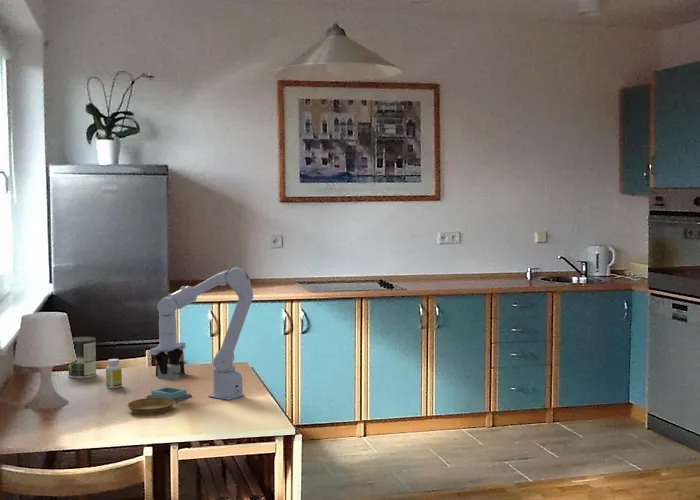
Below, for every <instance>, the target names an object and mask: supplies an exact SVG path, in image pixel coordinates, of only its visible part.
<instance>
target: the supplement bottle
mask: <svg viewBox="0 0 700 500" xmlns="http://www.w3.org/2000/svg"><path fill="white" fill-rule="evenodd" d="M122 374H123V373H122V366H121V365H120V359H119V358H109V359H107V366H106V367H105V385H106V386H105V387H106V388H108V389H117V388H118V389H119V388H122V385H123V380H122V379H123V378H122V377H123V376H122Z"/></svg>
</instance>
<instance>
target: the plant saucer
mask: <svg viewBox="0 0 700 500" xmlns="http://www.w3.org/2000/svg"><path fill="white" fill-rule="evenodd" d="M175 403H176V401H174V400H172V399H169V398H147V397H146V398H140V399H135V400H132V401H129V402H128V403H127V407H128V408H129V409H130V410H131V412H133V413H134V414H137V415H143V416H145V415H147V416H148V415H150V414H153V415H158V414H159V413H160V414H163V412H164V413H166V411H167V412H168V411H169V410H170V409H171V408H172V407H173V406H175V405H174V404H175Z"/></svg>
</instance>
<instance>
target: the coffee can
mask: <svg viewBox="0 0 700 500" xmlns="http://www.w3.org/2000/svg"><path fill="white" fill-rule="evenodd" d="M71 338H72V340H73V344H74V349H75V353H76V357H77V362H75V363H72V364H69V365H68V364H67V365H68V366H67V367H68V377H69V378H71V379H87V378H92V377H96V376H97V357H96V356H97V355H96V351H97V349H96V340H97V338H96V337H94V336H75V337H74V336H73V337H71Z"/></svg>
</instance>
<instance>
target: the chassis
mask: <svg viewBox="0 0 700 500" xmlns="http://www.w3.org/2000/svg"><path fill="white" fill-rule="evenodd" d="M191 397H193V396H192V394H191V393H187V389H185V388H178V387H172V386H163V387H160V388H157V389H156V388H155V389H153V390H151V394H147V395H146V398H169V399H172V400H174V401H175V402H178V400H179V401H181V399H182V400H186V399H188V398H191Z"/></svg>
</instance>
